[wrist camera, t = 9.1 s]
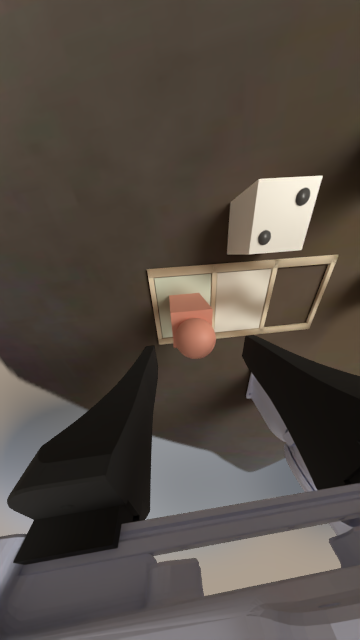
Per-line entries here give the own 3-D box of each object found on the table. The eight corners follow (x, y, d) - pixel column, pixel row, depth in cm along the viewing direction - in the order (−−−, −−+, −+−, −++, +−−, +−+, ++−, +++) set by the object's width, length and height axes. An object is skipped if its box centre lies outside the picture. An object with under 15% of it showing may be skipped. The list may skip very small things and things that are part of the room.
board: (307, 327, 23) (308, 328, 22) (159, 343, 21) (159, 344, 21) (336, 254, 18) (338, 254, 17) (147, 269, 16) (147, 269, 16)
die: (265, 251, 17) (302, 250, 12) (226, 254, 17) (249, 254, 12) (275, 199, 15) (323, 175, 10) (230, 202, 14) (259, 178, 10)
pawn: (199, 319, 20) (222, 366, 12) (171, 322, 20) (175, 372, 11) (199, 292, 18) (226, 325, 10) (169, 295, 18) (171, 331, 10)
